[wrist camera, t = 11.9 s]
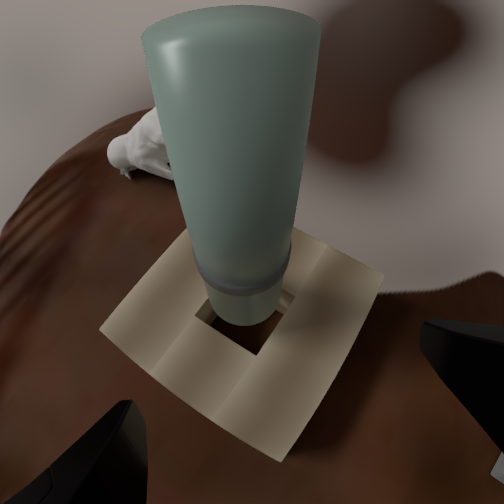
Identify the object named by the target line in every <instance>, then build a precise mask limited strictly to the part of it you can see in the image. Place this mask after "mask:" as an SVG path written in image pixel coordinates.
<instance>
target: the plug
mask: <svg viewBox="0 0 504 504" xmlns="http://www.w3.org/2000/svg"><path fill="white" fill-rule="evenodd" d="M320 35H321V25H320V24H319V22H317V21H316V20H315V19H313V18H311V17H309V16H307V15H304V14H301V13H298V12H295V11H291V10H286V9H282V8H275V7H267V6H254V5H232V6H218V7H209V8H203V9H197V10H192V11H188V12H184V13H181V14H177V15H174V16H171V17H168V18H166V19H163V20H161V21H159V22H157V23H155V24H153V25H151V26H150V27H148V28H147V29H146V30H145V31H144V32H143V33H142V37H141V38H142V43H143V48H144V53H145V58H146V63H147V68H148V73H149V78H150V82H151V87H152V92H153V96H154V101H155V105H156V110H157V114H158V118H159V122H160V127H161V131H162V135H163V139H164V143H165V147H166V151H167V155H168V159H169V163H170V167H171V170H172V174H173V178H174V182H175V186H176V189H177V193H178V197H179V200H180V204H181V207H182V211H183V214H184V218H185V221H186V225H187V228H188V232H189V235H190V239H191V242H192V252H193V257H194V260H195V263H196V266H197V269H198V272H199V273H200V275H201V277H202V278H203V281H204V284H205V287H206V291H207V294H208V297H209V300H210V303H211V305H212V308H213V309H214V311H215V312H216V314H217V315H218V316H219V317H221V318H222V319H223V320H225V321H227V322H229V323H231V324H234V325H239V326H249V325H254V324H258V323H260V322H262V321H264V320H266V319H267V318H268V317H269V316H270V315H272V313H273V312H274V311H275V309H276V308H277V306H278V303H279V300H280V295H281V290H282V285H283V279H284V274H285V272H286V270H287V267H288V264H289V259H290V254H291V247H292V244H291V235H292V230H293V224H294V218H295V212H296V206H297V200H298V194H299V187H300V182H301V175H302V169H303V162H304V156H305V149H306V142H307V136H308V129H309V122H310V115H311V107H312V100H313V93H314V84H315V77H316V68H317V61H318V53H319V44H320Z"/></svg>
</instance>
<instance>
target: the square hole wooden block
mask: <svg viewBox="0 0 504 504" xmlns="http://www.w3.org/2000/svg"><path fill="white" fill-rule="evenodd" d="M291 244H292V247H291V254H290V259H289V264H288V267H287V270H286V272H285V274H284V279H283V285H282V290H281V295H280V300H279V303H278V306H277V308H276V309H275V310H277V311H279V312H280V313H282V314H284V315H283V317H282V318H281V320H280V322H279V323H278V325H277V326H276V328H275V329H274V331H273V332H272V334H271V335H270V337H269V338H268V340H267V341H266V342H265V344H264V345H263V347H262V348H261V350H260V351H259V353H258V354H257V356H255V355H254V354H252V353H251V352H249V351H247V350H246V349H244V348H243V347H241V346H239V345H238V344H236V343H235V342H233V341H232V340H230V339H229V338H227V337H226V336H224V335H222V334H221V333H219V332H218V331H216V330H215V329H213V328H212V327H210V325H211V324H212V322H213V321H214V320H215V318H216V317H217V316H218V315H217V314H216V312H215V311H214V309H213V308H212V305H211V303H210V300H209V297H208V294H207V291H206V287H205V284H204V281H203V278H202V277H201V275H200V273H199V272H198V269H197V266H196V263H195V260H194V257H193V252H192V242H191V239H190V235H189V232H188V228H186V229H185V230H184V231H183V232H182V234H181V235H180V236H179V237H178V238H177V239H176V240H175V241H174V242H173V243H172V244H171V246H170V247H169V248H168V249H167V250H166V251H165V252H164V253H163V254H162V256H161V257H160V258H159V259H158V260H157V261H156V262H155V263H154V265H153V266H152V267H151V268H150V269H149V270H148V271H147V273H146V274H145V275H144V276H143V277H142V278H141V280H140V281H139V282H138V283H137V284H136V285H135V287H134V288H133V289H132V290H131V291H130V292H129V294H128V295H127V296H126V297H125V298H124V300H123V301H122V302H121V303H120V304H119V305H118V307H117V308H116V309H115V310H114V312H113V313H112V314H111V315H110V316H109V318H108V319H107V320H106V321H105V323H104V324H103V325H102V326H101V327H100V329H99V330H100V331H101V332H102V333H103V334H104V335H105V336H106V337H107V338H109V339H110V340H111V341H112V342H113V343H114V344H115V345H116V346H117V347H118V348H119V349H121V350H122V351H123V352H124V353H125V354H126V355H127V356H128V357H130V358H131V359H132V360H133V361H134V362H135V363H137V364H138V365H139V366H140V367H141V368H142V369H144V370H145V371H146V372H147V373H148V374H150V375H151V376H152V377H153V378H155V379H156V380H157V381H158V382H160V383H161V384H162V385H163V386H165V387H166V388H167V389H169V390H170V391H171V392H172V393H174V394H175V395H176V396H178V397H179V398H180V399H182V400H183V401H184V402H186V403H187V404H189V405H190V406H191V407H193V408H194V409H196V410H197V411H198V412H200V413H201V414H203V415H204V416H206V417H207V418H208V419H210V420H211V421H213V422H214V423H216V424H217V425H219V426H220V427H222V428H223V429H225V430H227V431H228V432H230V433H231V434H233V435H234V436H236V437H238V438H239V439H241V440H242V441H244V442H246V443H247V444H249V445H251V446H252V447H254V448H256V449H258V450H259V451H261V452H263V453H264V454H266V455H268V456H270V457H272V458H273V459H275V460H277V461H279V462H282V460H283V459H284V457H285V456H286V455H287V453H288V452H289V450H290V449H291V447H292V446H293V444H294V443H295V441H296V440H297V438H298V437H299V435H300V434H301V432H302V431H303V429H304V428H305V426H306V425H307V423H308V422H309V420H310V418H311V417H312V415H313V414H314V412H315V411H316V409H317V407H318V406H319V404H320V402H321V401H322V399H323V397H324V396H325V394H326V392H327V391H328V389H329V387H330V385H331V384H332V382H333V380H334V378H335V377H336V375H337V373H338V371H339V369H340V368H341V366H342V364H343V362H344V360H345V358H346V357H347V355H348V353H349V351H350V349H351V347H352V345H353V343H354V341H355V339H356V337H357V335H358V333H359V331H360V329H361V327H362V325H363V323H364V321H365V319H366V317H367V315H368V313H369V311H370V309H371V306H372V304H373V302H374V300H375V298H376V295H377V293H378V291H379V289H380V286H381V284H382V282H383V279H384V277H385V276H384V275H382V274H381V273H379V272H377V271H375V270H373V269H371V268H370V267H368V266H366V265H364V264H362V263H361V262H359V261H357V260H355V259H353V258H351V257H350V256H348V255H346V254H344V253H342V252H340V251H338V250H337V249H335V248H333V247H331V246H329V245H327V244H325V243H323V242H322V241H320V240H318V239H316V238H314V237H312V236H310V235H308V234H306V233H304V232H303V231H300V230H298V229H297V228H295V227H293V230H292V235H291Z"/></svg>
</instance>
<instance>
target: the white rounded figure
mask: <svg viewBox="0 0 504 504" xmlns="http://www.w3.org/2000/svg"><path fill="white" fill-rule="evenodd" d="M107 156H108V159H109V161H110V163H111V164H112V165H113V166H114V167H116V168H118V169H120V170H121V171H120V172H121V174H122V173H123V174H124V173H125V176H128V174H129V173H128V172H129V171H131V170H135V169H136V168H139V169H143V170H145V171H147V172H149V173H152V174H155V175H158V176H161V177H163V178H166V179H170V180H174V178H173V174H172V170H171V168H170V167H169V166H168V165H167V163H169V159H168V155H167V151H166V147H165V143H164V139H163V135H162V131H161V127H160V122H159V118H158V114H157V110H156V107H154V108H153V109H152V110H151V111H150V112H148V113H147V114H145V115H144V116H143V117H142V119H141V120H140V121H139V122H138V123H137V124H136V125H135V126H134V127H133V128H132V130H131V131H129V132H128V133H127V134H125V135H122V136H119V137H117V138H115V139H113V140H112V141H111V143H110V144H109V146H108V151H107ZM121 174H120V175H121ZM123 174H122V175H123ZM131 176H132V175H131ZM128 178H129V176H128ZM129 179H130V178H129Z"/></svg>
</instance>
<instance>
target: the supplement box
mask: <svg viewBox="0 0 504 504" xmlns="http://www.w3.org/2000/svg"><path fill="white" fill-rule="evenodd" d="M490 475H492V476H493V477H494V478H496V479H497V480H499V481H500V482H502V483H503V484H504V454H503V453H502V452H501V454H500V456H499V458H498V460H497V462H496V464H495V466H494V468H493V469H492V471H491V473H490Z"/></svg>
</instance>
